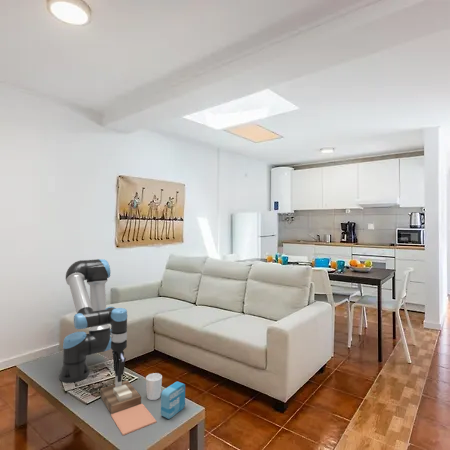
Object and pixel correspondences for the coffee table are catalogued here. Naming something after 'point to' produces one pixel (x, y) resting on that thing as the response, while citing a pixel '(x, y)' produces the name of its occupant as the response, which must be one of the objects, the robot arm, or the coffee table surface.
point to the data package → (172, 399)
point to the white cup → (153, 386)
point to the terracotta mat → (133, 419)
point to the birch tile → (122, 392)
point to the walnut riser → (113, 402)
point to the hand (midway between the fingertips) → (118, 387)
